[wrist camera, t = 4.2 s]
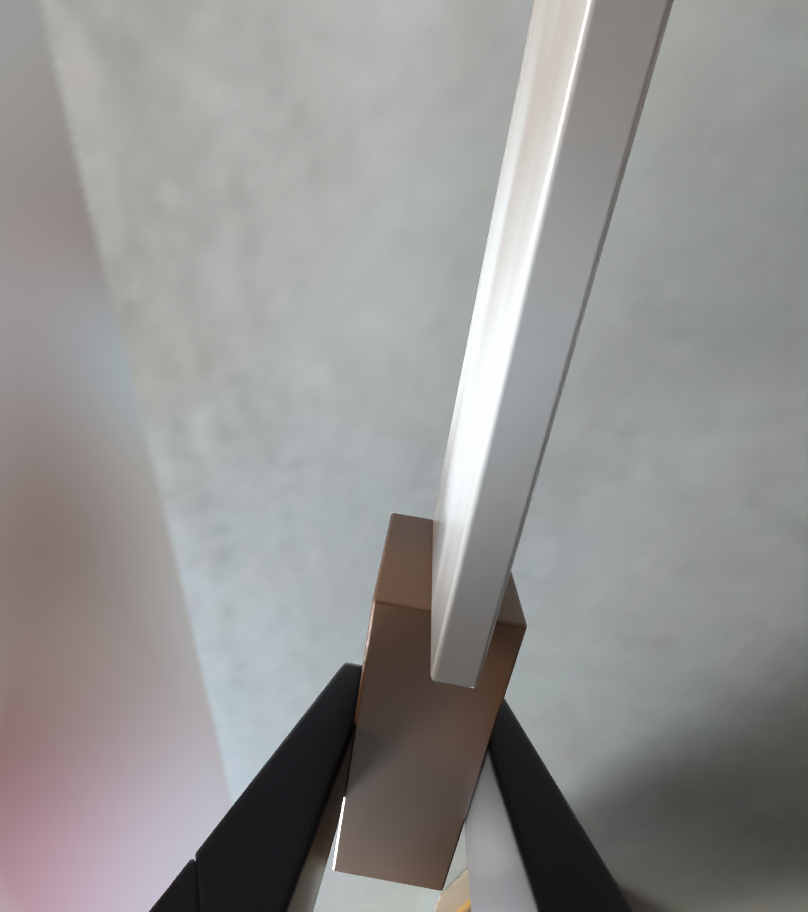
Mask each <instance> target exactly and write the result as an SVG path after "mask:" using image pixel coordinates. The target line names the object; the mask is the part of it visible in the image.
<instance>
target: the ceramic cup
mask: <svg viewBox="0 0 808 912" xmlns="http://www.w3.org/2000/svg"><path fill="white" fill-rule="evenodd" d="M435 912H472V911H471V899H470V888H469V877H468V869H467V870H466V871H465V872H464V873H462V874H461V875H460V876H459V877H458V878H457V879H456V880H455V881H454V882H453V883H452V884H450V885H449V886H448V887H447V888H446V889H445V890H444V891H443V892H442V893H441V894H440V899H439V900H438V902H437V904H436V909H435Z"/></svg>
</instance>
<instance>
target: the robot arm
mask: <svg viewBox="0 0 808 912" xmlns="http://www.w3.org/2000/svg"><path fill="white" fill-rule="evenodd" d="M362 668H363V665H358V664H352V663H345V664H344V665H343V666H342V667H341V668H340V669H339V671H338V672H337V673H336V675H335V676H334V677H333V678H332V680H331V681H330V682H329V683H328V685H327V686H326V687H325V689H324V690H323V691H322V692H321V694H320V695H319V696H318V698H317V699H316V700H315V701H314V703H313V704H312V705H311V706H310V708H309V709H308V710H307V712H306V713H305V714H304V715H303V717H302V718H301V719H300V721H299V722H298V723H297V724H296V726H295V727H294V728H293V729H292V731H291V732H290V733H289V735H288V736H287V737H286V738H285V740H284V741H283V742H282V744H281V745H280V746H279V747H278V749H277V750H276V751H275V753H274V754H273V755H272V756H271V758H270V759H269V760H268V761H267V763H266V764H265V765H264V767H263V768H262V769H261V770H260V772H259V773H258V774H257V776H256V777H255V778H254V779H253V781H252V782H251V783H250V784H249V786H248V787H247V788H246V790H245V791H244V792H243V793H242V795H241V796H240V797H239V799H238V800H237V801H236V802H235V804H234V805H233V806H232V807H231V809H230V810H229V811H228V813H227V814H226V815H225V817H224V818H223V819H222V820H221V822H220V823H219V824H218V825H217V827H216V828H215V829H214V830H213V832H212V833H211V834H210V836H209V837H208V838H207V840H206V841H205V842H204V844H203V845H202V846H201V847H200V848H199V850H198V851H197V852H196V855H195V860H194V859H191V860H190V861H189V862H188V863H187V865H186V866H185V867H184V868H183V870H182V871H181V872H180V874H179V875H178V876H177V877H176V879H175V880H174V881H173V882H172V884H171V885H170V886H169V888H168V889H167V890H166V891H165V893H164V894H163V895H162V896H161V898H160V899H159V900H158V901H157V902H156V904H155V905H154V906H153V907H152V909H151V910H150V911H149V912H313V909H314V905H315V902H316V898H317V895H318V891H319V888H320V885H321V881H322V878H323V874H324V871H325V867H326V864H327V860H328V857H329V853H330V850H331V846H332V843H333V839H334V836H335V832H336V829H337V825H338V821H339V817H340V814H341V810H342V805H343V800H344V795H345V788H346V782H347V775H348V769H349V762H350V756H351V749H352V743H353V736H354V729H355V714H356V708H357V701H358V694H359V688H360V681H361V674H362ZM465 839H466V854H467V865H468V877H469V888H470V899H471V911H472V912H633V910H632V908H631V907H630V905H629V903H628V902H627V900H626V898H625V897H624V895H623V893H622V892H621V890H620V888H619V887H618V885H617V884H616V882H615V880H614V879H613V877H612V875H611V874H610V872H609V870H608V869H607V867H606V865H605V864H604V862H603V860H602V859H601V857H600V855H599V854H598V852H597V851H596V849H595V847H594V846H593V844H592V842H591V841H590V839H589V837H588V836H587V834H586V832H585V831H584V829H583V827H582V826H581V824H580V822H579V821H578V819H577V818H576V816H575V814H574V813H573V811H572V809H571V808H570V806H569V804H568V803H567V801H566V799H565V798H564V796H563V794H562V793H561V791H560V789H559V788H558V786H557V785H556V783H555V781H554V780H553V778H552V776H551V775H550V773H549V771H548V770H547V768H546V766H545V765H544V763H543V761H542V760H541V758H540V756H539V755H538V753H537V752H536V750H535V748H534V747H533V745H532V743H531V742H530V740H529V738H528V737H527V735H526V733H525V732H524V730H523V728H522V727H521V725H520V723H519V722H518V720H517V719H516V717H515V715H514V714H513V712H512V710H511V709H510V707H509V705H508V704H507V702H506V700H505V699H503V703H502V706H501V709H500V712H499V715H498V718H497V721H496V724H495V728H494V731H493V734H492V737H491V740H490V743H489V746H488V749H487V752H486V755H485V758H484V761H483V764H482V768H481V771H480V774H479V777H478V780H477V783H476V786H475V789H474V792H473V796H472V799H471V802H470V805H469V808H468V811H467V814H466V817H465ZM195 861H196V862H195Z"/></svg>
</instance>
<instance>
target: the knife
mask: <svg viewBox="0 0 808 912" xmlns="http://www.w3.org/2000/svg"><path fill="white" fill-rule="evenodd" d="M673 1H674V0H534V5H533V10H532V15H531V20H530V25H529V31H528V36H527V41H526V46H525V51H524V56H523V61H522V66H521V71H520V76H519V82H518V87H517V92H516V97H515V102H514V107H513V112H512V117H511V122H510V127H509V133H508V138H507V143H506V148H505V153H504V158H503V163H502V168H501V173H500V178H499V184H498V189H497V194H496V199H495V204H494V209H493V214H492V219H491V224H490V229H489V235H488V240H487V245H486V250H485V255H484V260H483V265H482V270H481V275H480V280H479V286H478V291H477V296H476V301H475V306H474V311H473V316H472V321H471V326H470V331H469V337H468V342H467V347H466V352H465V357H464V362H463V367H462V372H461V377H460V382H459V388H458V393H457V398H456V403H455V408H454V413H453V418H452V423H451V428H450V433H449V439H448V444H447V449H446V454H445V459H444V464H443V469H442V474H441V479H440V484H439V490H438V495H437V500H436V505H435V510H434V515H433V520H431V519H425V518H419V517H413V516H407V515H401V514H395V513H393V514H392V515H391V519H390V523H389V528H388V532H387V537H386V541H385V546H384V550H383V555H382V560H381V564H380V569H379V573H378V578H377V582H376V587H375V591H374V596H373V601H372V608H371V614H370V621H369V628H368V634H367V641H366V648H365V654H364V661H363V668H362V674H361V681H360V688H359V694H358V701H357V708H356V714H355V729H354V736H353V743H352V749H351V756H350V762H349V769H348V775H347V782H346V788H345V795H344V800H343V805H342V810H341V814H340V821H339V828H338V834H337V841H336V848H335V854H334V861H333V870H334V871H338V872H344V873H349V874H354V875H360V876H365V877H371V878H376V879H381V880H387V881H392V882H397V883H403V884H408V885H413V886H419V887H424V888H429V889H435V890H443V887H444V884H445V881H446V878H447V875H448V871H449V868H450V865H451V862H452V859H453V856H454V853H455V850H456V846H457V843H458V840H459V837H460V834H461V831H462V828H463V825H464V821H465V817H466V814H467V811H468V808H469V805H470V802H471V799H472V796H473V792H474V789H475V786H476V783H477V780H478V777H479V774H480V771H481V768H482V764H483V761H484V758H485V755H486V752H487V749H488V746H489V743H490V740H491V737H492V734H493V731H494V728H495V724H496V721H497V718H498V715H499V712H500V709H501V706H502V703H503V699H504V696H505V693H506V690H507V687H508V684H509V681H510V677H511V674H512V671H513V668H514V665H515V662H516V659H517V656H518V652H519V649H520V646H521V643H522V640H523V637H524V634H525V631H526V627H527V626H526V622H525V618H524V615H523V611H522V608H521V604H520V601H519V597H518V594H517V590H516V586H515V583H514V579H513V576H512V572H511V568H512V565H513V561H514V558H515V554H516V551H517V547H518V544H519V540H520V537H521V533H522V530H523V526H524V523H525V519H526V516H527V512H528V509H529V505H530V502H531V498H532V495H533V491H534V488H535V484H536V481H537V477H538V474H539V470H540V467H541V463H542V460H543V456H544V453H545V449H546V446H547V442H548V439H549V435H550V432H551V428H552V425H553V421H554V418H555V414H556V411H557V407H558V404H559V400H560V397H561V393H562V390H563V386H564V383H565V379H566V376H567V372H568V369H569V365H570V362H571V358H572V355H573V351H574V348H575V344H576V341H577V337H578V334H579V330H580V327H581V323H582V320H583V316H584V313H585V309H586V306H587V302H588V299H589V295H590V292H591V288H592V285H593V281H594V278H595V274H596V271H597V267H598V264H599V260H600V257H601V253H602V250H603V246H604V243H605V239H606V236H607V232H608V229H609V225H610V222H611V218H612V215H613V211H614V208H615V204H616V201H617V197H618V194H619V190H620V187H621V183H622V180H623V176H624V173H625V169H626V166H627V162H628V159H629V155H630V152H631V148H632V145H633V141H634V137H635V134H636V130H637V127H638V123H639V120H640V116H641V113H642V109H643V106H644V102H645V99H646V95H647V92H648V88H649V85H650V81H651V78H652V74H653V71H654V67H655V64H656V60H657V57H658V53H659V50H660V46H661V43H662V39H663V36H664V32H665V29H666V25H667V22H668V18H669V15H670V11H671V8H672V4H673Z"/></svg>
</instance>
